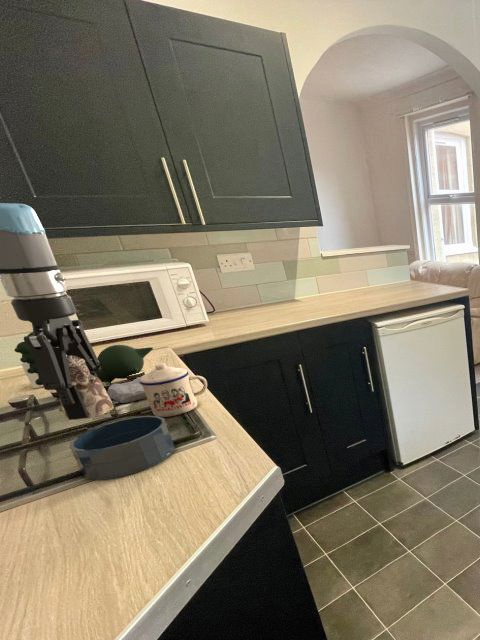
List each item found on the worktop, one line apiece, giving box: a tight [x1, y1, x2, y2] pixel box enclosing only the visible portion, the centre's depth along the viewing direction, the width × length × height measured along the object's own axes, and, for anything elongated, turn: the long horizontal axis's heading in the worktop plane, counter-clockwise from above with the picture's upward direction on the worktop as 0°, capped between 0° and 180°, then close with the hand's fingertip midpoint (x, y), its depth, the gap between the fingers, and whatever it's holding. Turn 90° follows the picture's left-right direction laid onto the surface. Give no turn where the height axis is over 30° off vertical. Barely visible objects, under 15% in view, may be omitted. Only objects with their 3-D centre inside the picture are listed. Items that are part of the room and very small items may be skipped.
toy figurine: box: [14, 331, 154, 389], centre depth 113 cm, size 9×19×25 cm
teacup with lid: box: [140, 362, 208, 418], centre depth 100 cm, size 12×9×12 cm
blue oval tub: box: [69, 415, 176, 481], centre depth 79 cm, size 13×14×6 cm
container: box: [18, 339, 55, 389], centre depth 119 cm, size 8×8×13 cm
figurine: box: [58, 355, 114, 421], centre depth 82 cm, size 7×7×12 cm
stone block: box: [107, 373, 147, 404], centre depth 110 cm, size 12×5×10 cm
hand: (89, 409), depth 84 cm, fingers closed on figurine, 7 cm apart
